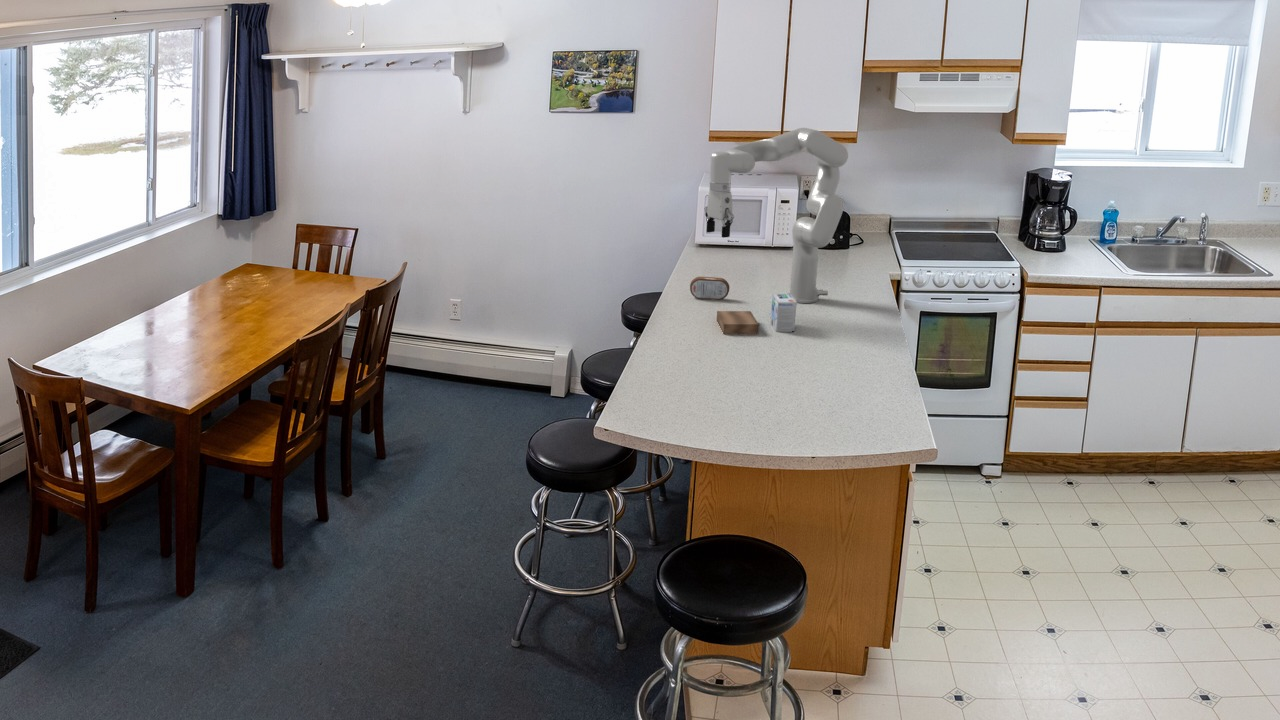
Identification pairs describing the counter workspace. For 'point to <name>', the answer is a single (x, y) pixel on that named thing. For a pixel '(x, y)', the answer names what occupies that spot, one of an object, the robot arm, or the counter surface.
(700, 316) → the counter surface
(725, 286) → the tin
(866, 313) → the counter surface
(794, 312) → the light bulb box
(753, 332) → the walnut block
